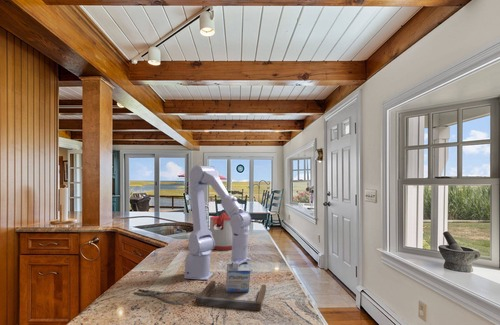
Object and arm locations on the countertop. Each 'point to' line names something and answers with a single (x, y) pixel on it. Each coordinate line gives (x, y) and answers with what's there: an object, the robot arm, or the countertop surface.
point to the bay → (230, 303)
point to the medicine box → (238, 278)
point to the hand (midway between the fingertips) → (238, 283)
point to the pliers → (157, 293)
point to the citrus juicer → (221, 232)
